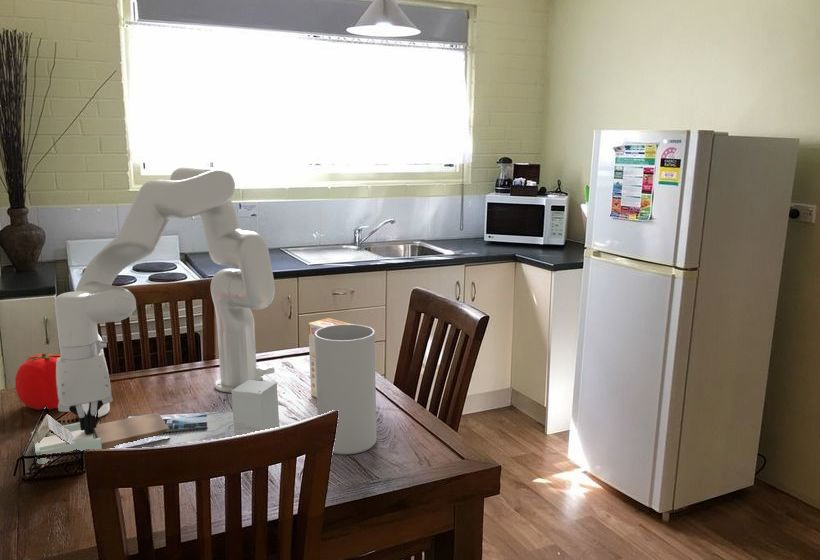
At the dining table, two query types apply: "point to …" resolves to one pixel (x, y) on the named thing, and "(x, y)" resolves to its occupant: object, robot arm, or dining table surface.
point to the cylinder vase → (348, 383)
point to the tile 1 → (51, 442)
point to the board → (130, 429)
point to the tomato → (38, 382)
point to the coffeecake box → (312, 329)
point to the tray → (82, 445)
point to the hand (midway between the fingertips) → (88, 431)
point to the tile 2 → (81, 436)
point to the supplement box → (255, 406)
